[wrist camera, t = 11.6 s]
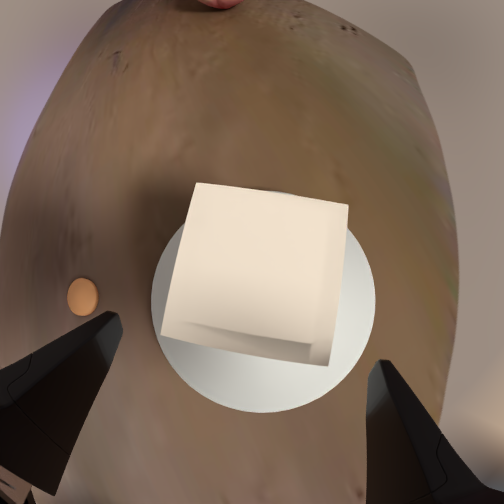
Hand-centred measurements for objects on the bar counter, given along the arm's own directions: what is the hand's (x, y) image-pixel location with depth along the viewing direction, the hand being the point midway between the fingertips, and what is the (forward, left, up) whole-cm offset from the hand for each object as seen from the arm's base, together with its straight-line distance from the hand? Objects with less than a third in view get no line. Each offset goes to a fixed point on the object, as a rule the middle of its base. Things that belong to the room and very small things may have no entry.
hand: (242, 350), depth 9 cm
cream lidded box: (+3, +1, -10) cm, 11 cm away
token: (-5, +14, -12) cm, 19 cm away
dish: (+3, +1, -12) cm, 12 cm away
